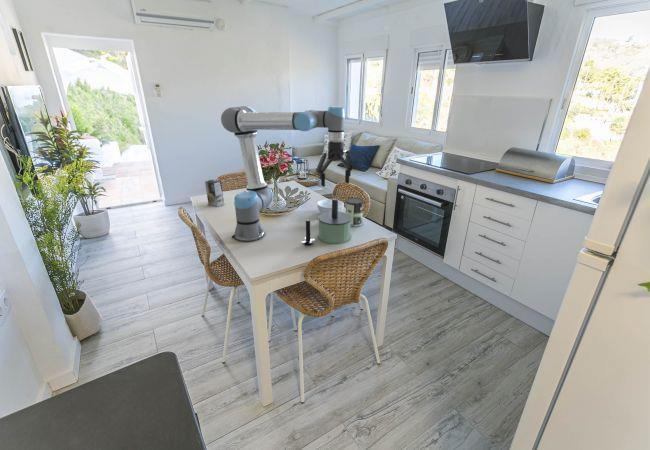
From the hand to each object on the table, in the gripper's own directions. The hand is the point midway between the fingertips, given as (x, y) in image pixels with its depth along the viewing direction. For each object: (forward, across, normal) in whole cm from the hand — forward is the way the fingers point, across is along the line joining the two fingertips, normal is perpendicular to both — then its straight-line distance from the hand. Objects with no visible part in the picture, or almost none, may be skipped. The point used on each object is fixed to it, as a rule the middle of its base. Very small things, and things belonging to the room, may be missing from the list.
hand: (335, 184), depth 157 cm
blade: (+29, -16, -2) cm, 33 cm away
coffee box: (+28, -50, +79) cm, 98 cm away
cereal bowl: (+29, +13, +31) cm, 44 cm away
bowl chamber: (+29, 0, 0) cm, 29 cm away
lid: (+18, 0, 0) cm, 18 cm away
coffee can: (+29, +19, +12) cm, 37 cm away
